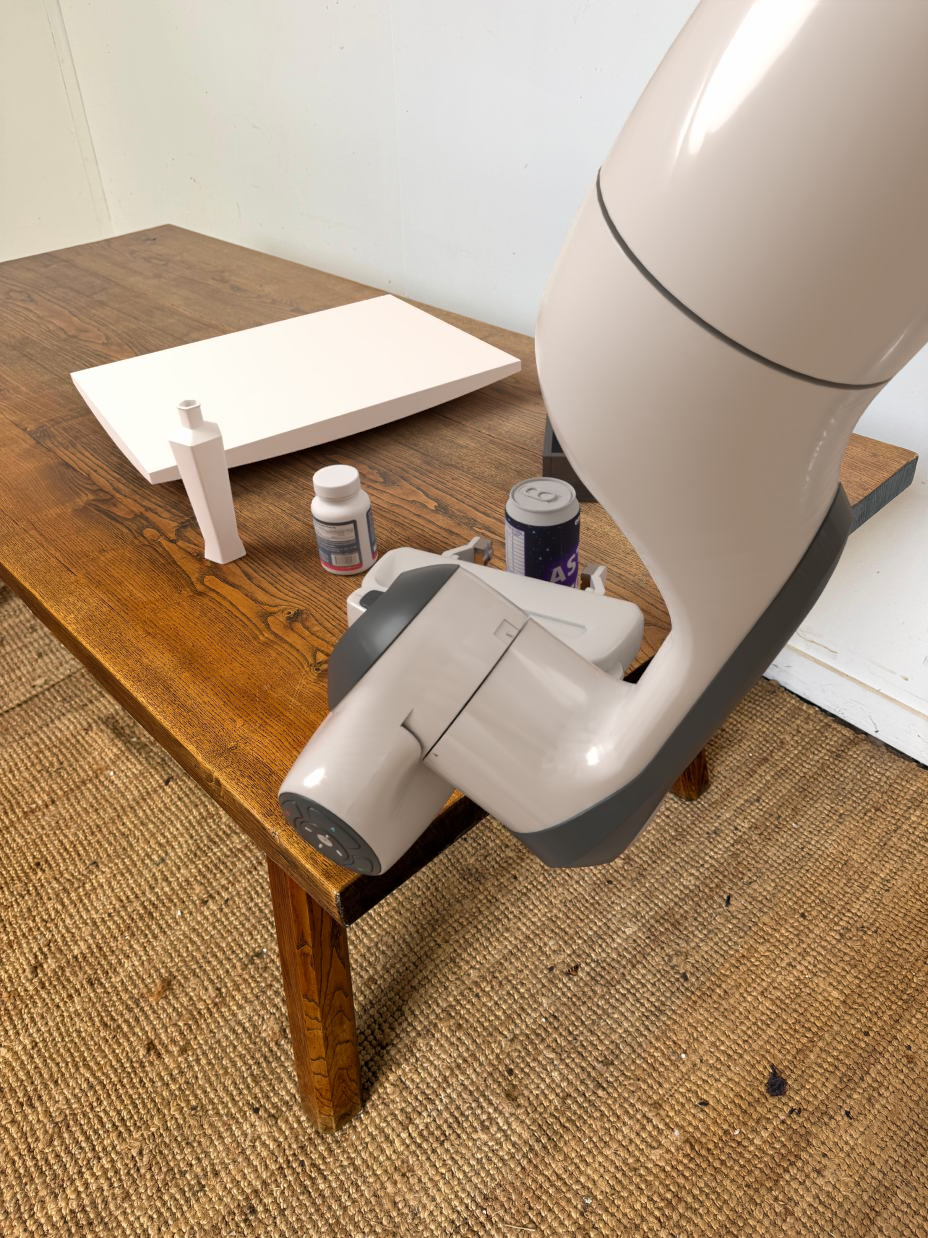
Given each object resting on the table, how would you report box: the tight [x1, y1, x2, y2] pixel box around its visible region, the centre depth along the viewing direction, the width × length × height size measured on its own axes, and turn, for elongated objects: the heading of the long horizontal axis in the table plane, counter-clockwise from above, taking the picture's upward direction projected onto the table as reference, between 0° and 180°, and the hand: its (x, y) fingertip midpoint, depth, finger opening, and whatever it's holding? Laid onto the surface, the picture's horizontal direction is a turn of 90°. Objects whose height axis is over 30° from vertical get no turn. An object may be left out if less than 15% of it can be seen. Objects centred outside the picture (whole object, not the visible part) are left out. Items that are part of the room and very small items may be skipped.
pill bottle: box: [310, 464, 379, 576], centre depth 78 cm, size 5×5×9 cm
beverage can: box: [504, 476, 582, 589], centre depth 69 cm, size 6×6×12 cm
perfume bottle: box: [168, 398, 247, 565], centre depth 79 cm, size 5×4×15 cm
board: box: [69, 293, 522, 485], centre depth 108 cm, size 45×32×5 cm
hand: (540, 557), depth 68 cm, fingers open, 8 cm apart
